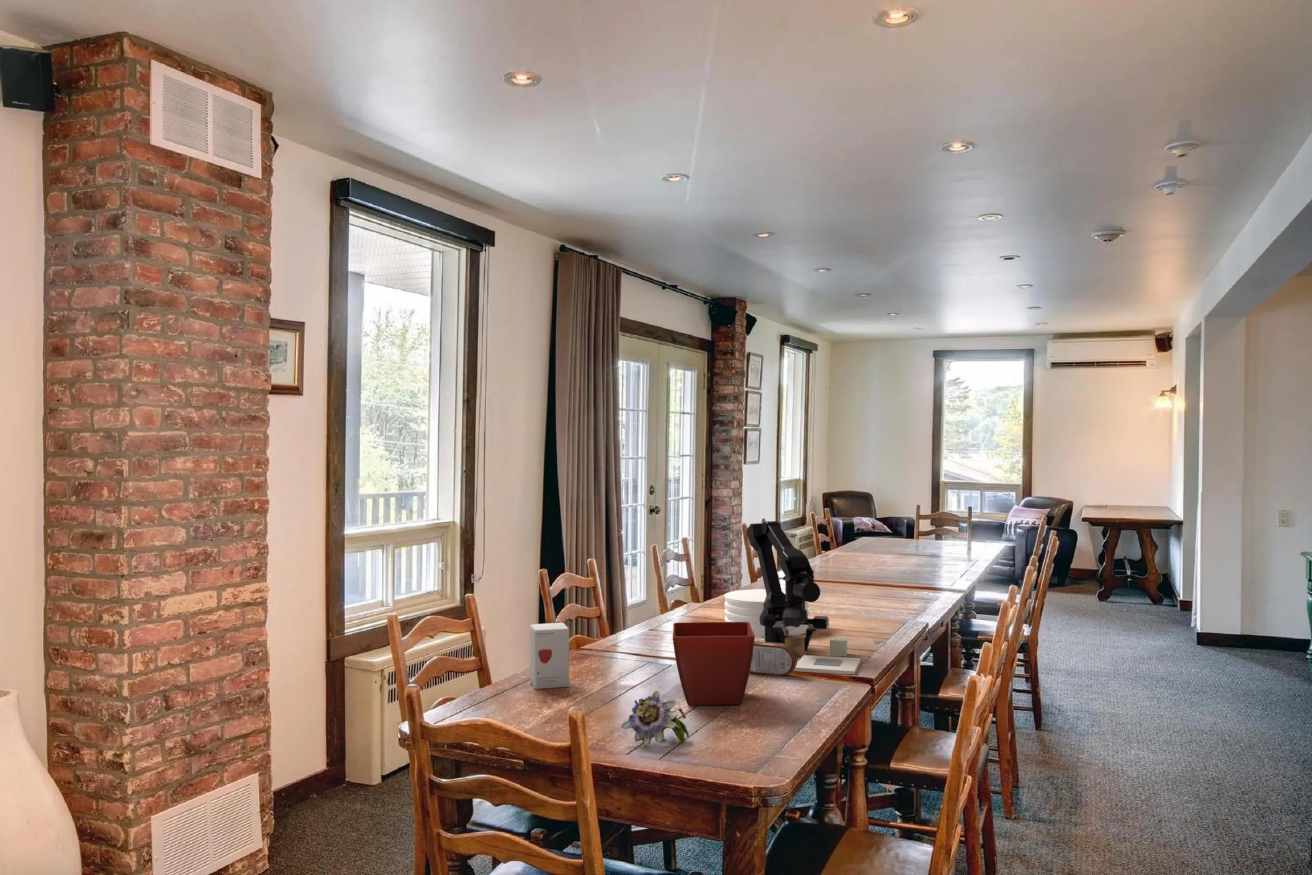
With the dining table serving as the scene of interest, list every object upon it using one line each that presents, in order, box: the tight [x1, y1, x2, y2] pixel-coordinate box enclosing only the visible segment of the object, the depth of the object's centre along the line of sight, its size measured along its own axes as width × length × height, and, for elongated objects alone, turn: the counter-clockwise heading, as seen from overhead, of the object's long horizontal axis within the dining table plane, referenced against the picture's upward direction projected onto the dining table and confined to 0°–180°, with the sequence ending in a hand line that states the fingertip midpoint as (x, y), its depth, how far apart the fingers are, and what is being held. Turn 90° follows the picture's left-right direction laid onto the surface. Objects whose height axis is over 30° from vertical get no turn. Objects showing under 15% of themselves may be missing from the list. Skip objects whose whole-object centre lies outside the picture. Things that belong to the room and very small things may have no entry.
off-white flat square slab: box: [793, 654, 861, 676], centre depth 254 cm, size 16×16×1 cm
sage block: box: [829, 637, 848, 658], centre depth 269 cm, size 4×4×4 cm
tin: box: [750, 640, 798, 677], centre depth 246 cm, size 15×3×8 cm, turn 65°
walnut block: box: [785, 635, 808, 658], centre depth 270 cm, size 6×6×5 cm
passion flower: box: [621, 690, 690, 748], centre depth 190 cm, size 11×11×12 cm
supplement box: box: [529, 622, 570, 690], centre depth 238 cm, size 9×9×15 cm
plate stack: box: [723, 588, 810, 638], centre depth 310 cm, size 28×28×12 cm
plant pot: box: [672, 621, 756, 706], centre depth 222 cm, size 19×19×17 cm
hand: (795, 650), depth 270 cm, fingers closed on walnut block, 5 cm apart
